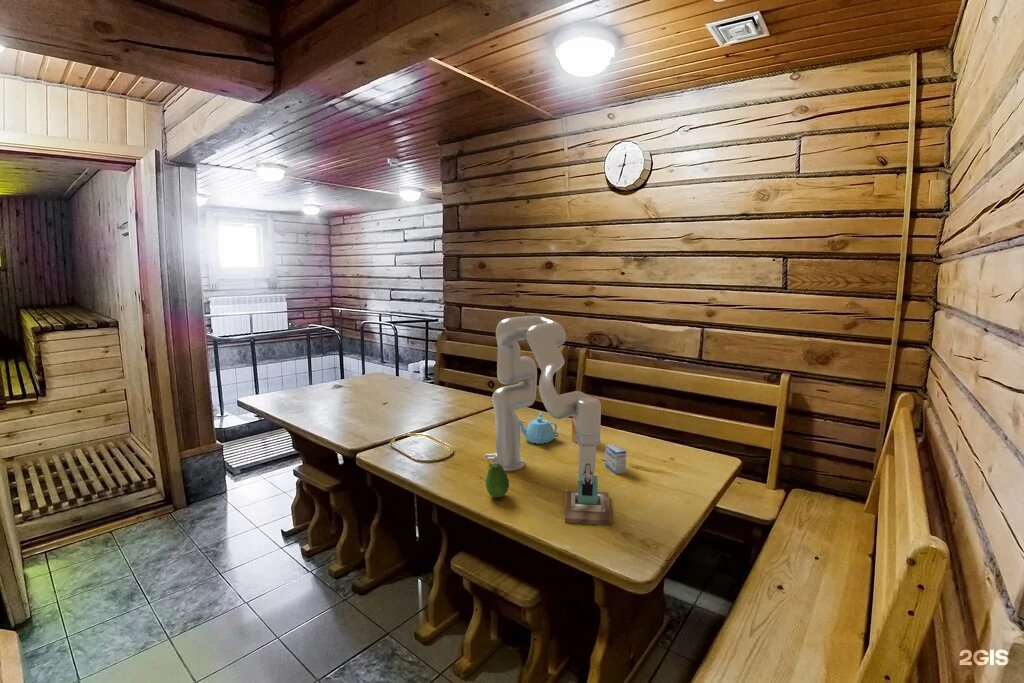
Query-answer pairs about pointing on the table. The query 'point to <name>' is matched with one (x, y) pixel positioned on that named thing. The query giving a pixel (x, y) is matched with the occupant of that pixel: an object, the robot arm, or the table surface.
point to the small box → (574, 428)
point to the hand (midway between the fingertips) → (586, 487)
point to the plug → (588, 499)
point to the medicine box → (615, 459)
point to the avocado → (497, 481)
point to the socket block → (588, 510)
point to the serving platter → (429, 438)
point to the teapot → (539, 430)
